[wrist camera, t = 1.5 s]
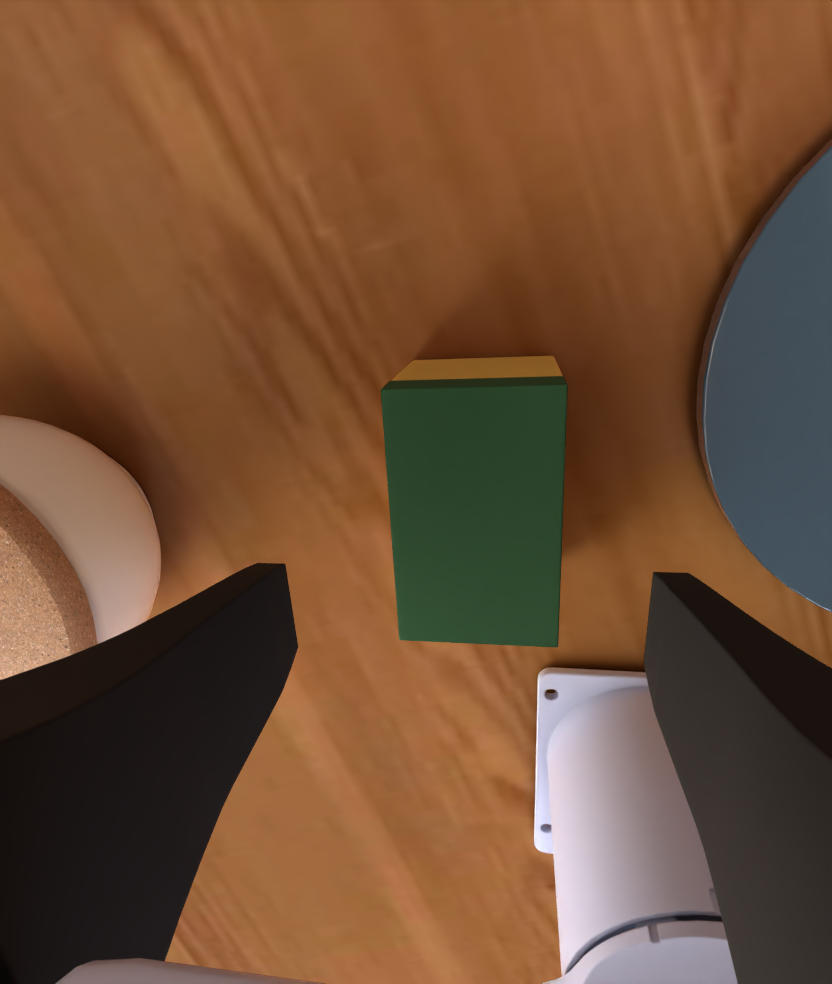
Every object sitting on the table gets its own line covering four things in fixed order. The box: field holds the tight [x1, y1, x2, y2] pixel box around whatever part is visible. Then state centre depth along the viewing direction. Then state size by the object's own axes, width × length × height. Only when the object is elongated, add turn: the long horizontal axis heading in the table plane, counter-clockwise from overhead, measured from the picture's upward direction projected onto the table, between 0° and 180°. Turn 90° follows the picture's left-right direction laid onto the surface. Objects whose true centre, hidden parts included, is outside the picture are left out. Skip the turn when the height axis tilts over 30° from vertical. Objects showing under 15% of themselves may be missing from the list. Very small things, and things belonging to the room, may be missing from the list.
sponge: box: [381, 356, 568, 647], centre depth 18 cm, size 8×5×5 cm, turn 3°
